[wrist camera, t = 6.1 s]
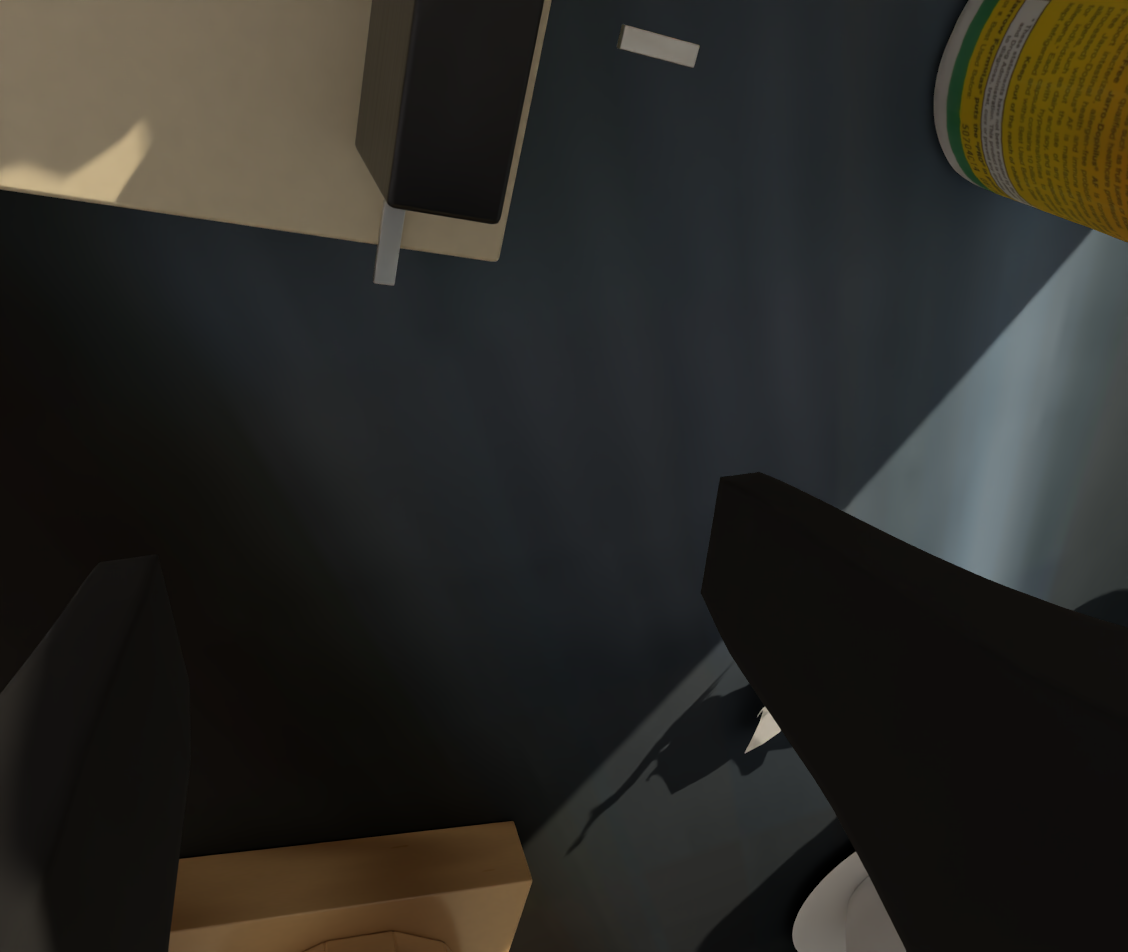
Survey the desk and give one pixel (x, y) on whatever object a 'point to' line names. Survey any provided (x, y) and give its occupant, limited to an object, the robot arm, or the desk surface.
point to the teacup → (845, 915)
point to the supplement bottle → (1041, 105)
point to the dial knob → (445, 102)
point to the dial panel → (223, 116)
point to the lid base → (357, 895)
